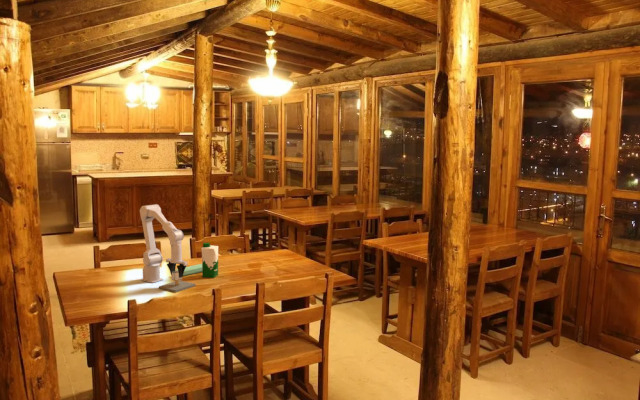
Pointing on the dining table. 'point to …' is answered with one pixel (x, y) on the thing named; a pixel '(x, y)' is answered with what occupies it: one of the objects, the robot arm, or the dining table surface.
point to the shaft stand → (177, 286)
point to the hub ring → (175, 275)
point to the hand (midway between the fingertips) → (177, 276)
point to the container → (192, 269)
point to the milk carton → (209, 260)
